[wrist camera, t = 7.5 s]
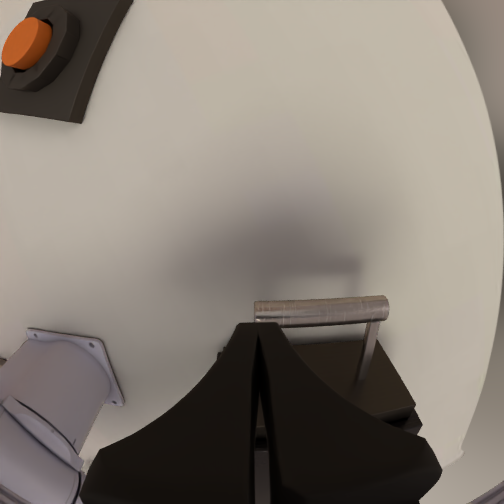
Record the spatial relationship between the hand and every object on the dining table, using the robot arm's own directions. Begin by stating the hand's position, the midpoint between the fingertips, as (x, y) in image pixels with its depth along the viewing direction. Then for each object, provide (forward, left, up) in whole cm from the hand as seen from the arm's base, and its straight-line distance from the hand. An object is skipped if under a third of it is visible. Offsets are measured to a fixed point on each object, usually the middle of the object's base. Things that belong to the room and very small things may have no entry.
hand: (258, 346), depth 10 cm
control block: (-15, +16, -9) cm, 24 cm away
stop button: (-15, +16, -6) cm, 23 cm away
